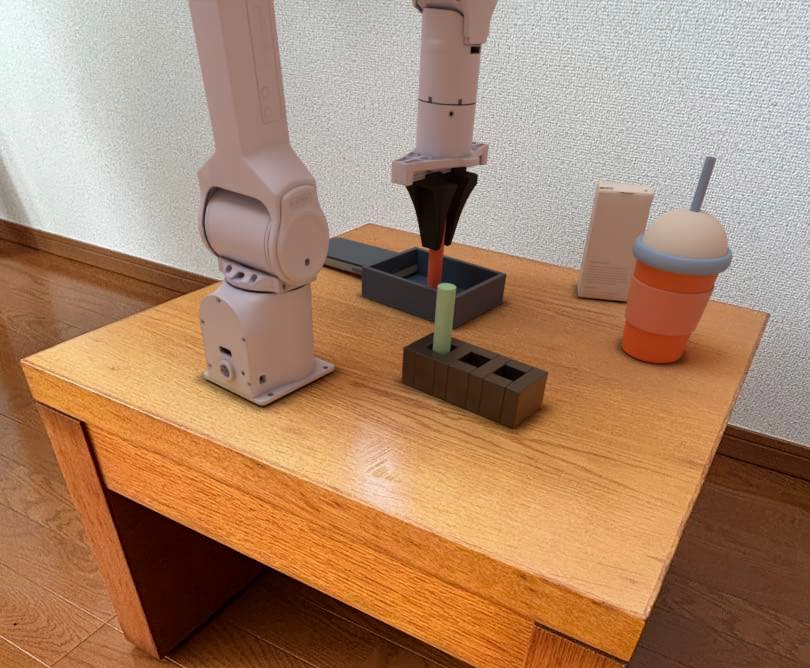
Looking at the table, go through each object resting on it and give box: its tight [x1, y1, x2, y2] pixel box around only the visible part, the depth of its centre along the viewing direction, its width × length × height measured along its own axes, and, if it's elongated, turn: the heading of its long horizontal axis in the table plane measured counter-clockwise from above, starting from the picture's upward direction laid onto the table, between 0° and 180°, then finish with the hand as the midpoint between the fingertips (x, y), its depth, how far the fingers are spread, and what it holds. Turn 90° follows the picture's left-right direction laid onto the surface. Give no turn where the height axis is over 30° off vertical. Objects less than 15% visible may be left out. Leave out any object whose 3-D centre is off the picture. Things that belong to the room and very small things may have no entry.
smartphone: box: [324, 236, 417, 278], centre depth 84 cm, size 8×2×15 cm
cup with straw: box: [621, 156, 733, 364], centre depth 63 cm, size 9×9×18 cm
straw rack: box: [401, 331, 549, 429], centre depth 59 cm, size 12×5×4 cm, turn 52°
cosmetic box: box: [576, 180, 655, 302], centre depth 77 cm, size 6×4×12 cm
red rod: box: [427, 222, 446, 289], centre depth 73 cm, size 2×2×9 cm
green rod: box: [433, 283, 456, 355], centre depth 59 cm, size 2×2×9 cm
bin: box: [361, 246, 507, 330], centre depth 76 cm, size 13×10×3 cm
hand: (436, 245), depth 73 cm, fingers closed on red rod, 1 cm apart
